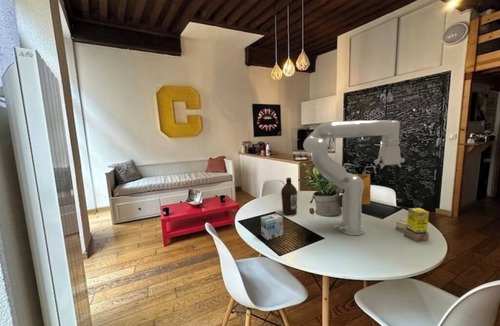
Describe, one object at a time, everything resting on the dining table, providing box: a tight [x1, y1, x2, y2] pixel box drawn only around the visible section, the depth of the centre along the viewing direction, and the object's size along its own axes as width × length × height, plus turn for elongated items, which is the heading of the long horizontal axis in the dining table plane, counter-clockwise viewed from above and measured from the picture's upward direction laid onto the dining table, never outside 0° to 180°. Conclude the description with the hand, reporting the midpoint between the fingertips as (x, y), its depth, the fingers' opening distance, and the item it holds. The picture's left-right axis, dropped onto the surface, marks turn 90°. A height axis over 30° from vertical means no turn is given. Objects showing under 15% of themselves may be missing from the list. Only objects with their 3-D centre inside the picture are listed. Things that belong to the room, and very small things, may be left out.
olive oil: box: [280, 177, 298, 216], centre depth 152 cm, size 11×11×25 cm
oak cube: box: [395, 218, 407, 234], centre depth 120 cm, size 5×5×5 cm
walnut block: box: [403, 229, 430, 243], centre depth 112 cm, size 7×7×4 cm
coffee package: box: [354, 173, 372, 206], centre depth 165 cm, size 10×12×22 cm
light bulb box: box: [260, 213, 284, 241], centre depth 122 cm, size 11×7×11 cm, turn 117°
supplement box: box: [406, 207, 430, 234], centre depth 110 cm, size 6×6×11 cm
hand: (388, 174), depth 123 cm, fingers open, 9 cm apart
